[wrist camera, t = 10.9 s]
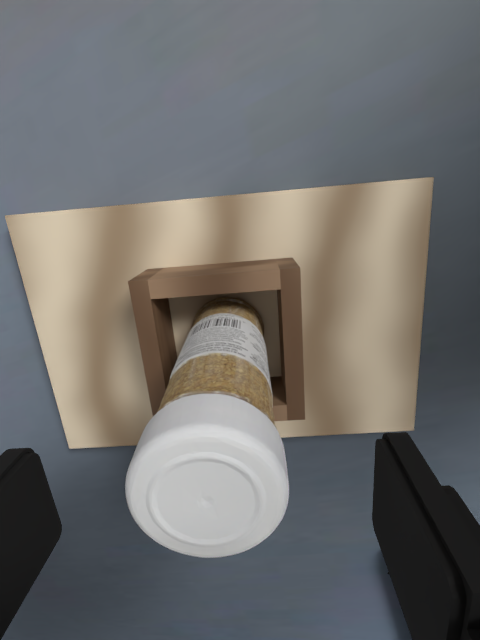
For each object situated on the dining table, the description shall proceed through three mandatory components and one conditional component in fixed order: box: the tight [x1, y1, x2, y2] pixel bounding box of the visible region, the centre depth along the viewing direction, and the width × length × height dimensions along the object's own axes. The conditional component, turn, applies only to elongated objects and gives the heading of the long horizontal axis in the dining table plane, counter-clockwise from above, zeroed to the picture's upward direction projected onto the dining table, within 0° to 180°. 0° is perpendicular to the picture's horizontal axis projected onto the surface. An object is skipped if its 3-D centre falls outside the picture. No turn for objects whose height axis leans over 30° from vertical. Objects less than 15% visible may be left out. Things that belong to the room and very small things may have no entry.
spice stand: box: [5, 177, 434, 449], centre depth 21 cm, size 24×16×5 cm, turn 95°
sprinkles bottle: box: [125, 297, 289, 558], centre depth 16 cm, size 5×5×13 cm
